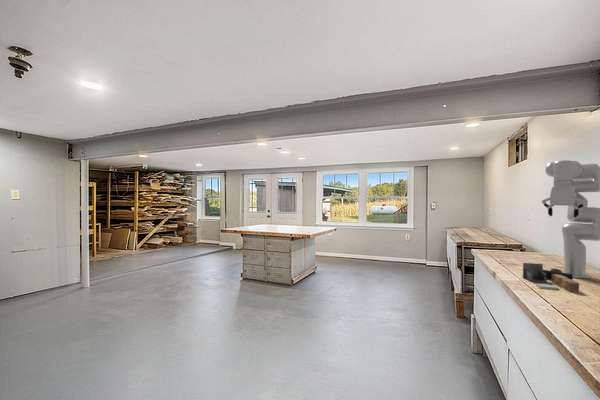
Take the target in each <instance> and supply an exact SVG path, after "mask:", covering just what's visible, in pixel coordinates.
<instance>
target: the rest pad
mask: <svg viewBox="0 0 600 400" xmlns="http://www.w3.org/2000/svg"><path fill="white" fill-rule="evenodd" d="M536 287H538V289H545V290H555V291H556V290H557V291H560V287H559V286H557V285H555V284H552V285H551V284H539V283H537V284H536Z"/></svg>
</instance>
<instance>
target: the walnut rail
mask: <svg viewBox="0 0 600 400" xmlns="http://www.w3.org/2000/svg"><path fill="white" fill-rule="evenodd" d="M551 283H552V285H554V286H557V287H558V288H561V289H563V290H565V291H566V292H569V293H577V294H578V293H580V283H579V282H577V281H574V280H571V279H569V278H567V277H565V276H563V275H560V274H552V280H551Z"/></svg>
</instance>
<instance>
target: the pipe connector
mask: <svg viewBox="0 0 600 400" xmlns="http://www.w3.org/2000/svg"><path fill="white" fill-rule="evenodd" d="M561 271H562V270H561V269H558V268H551V269H550V270H548V269H543V272H544V273H546V280H551V281H552V274H560V275H563V276H565V277H567V278H569V279H571V280H573V279H574V277H573V275H572V274H569V273H562V272H561ZM573 281H574V280H573Z"/></svg>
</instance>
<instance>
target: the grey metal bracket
mask: <svg viewBox="0 0 600 400" xmlns="http://www.w3.org/2000/svg"><path fill="white" fill-rule="evenodd" d="M543 267H544V266H543V263H536V262H535V263H534V262H530V263H529V262H522V279H525V280H527V281H528V282H530V283H544V284H547V279H546V273H544V272H543V270H544V269H543Z"/></svg>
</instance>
